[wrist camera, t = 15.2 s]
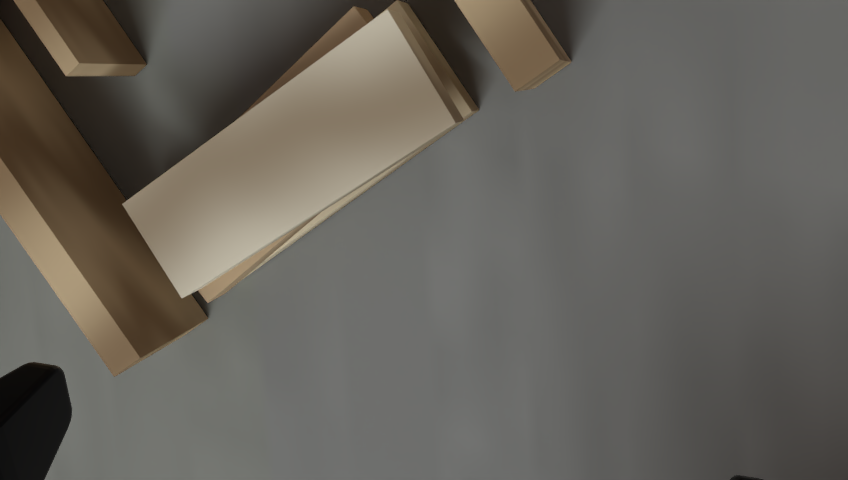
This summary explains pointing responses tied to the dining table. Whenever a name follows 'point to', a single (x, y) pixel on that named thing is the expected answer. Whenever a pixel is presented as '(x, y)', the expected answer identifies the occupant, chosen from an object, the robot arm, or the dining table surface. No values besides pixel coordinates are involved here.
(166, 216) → the frame
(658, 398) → the dining table surface
